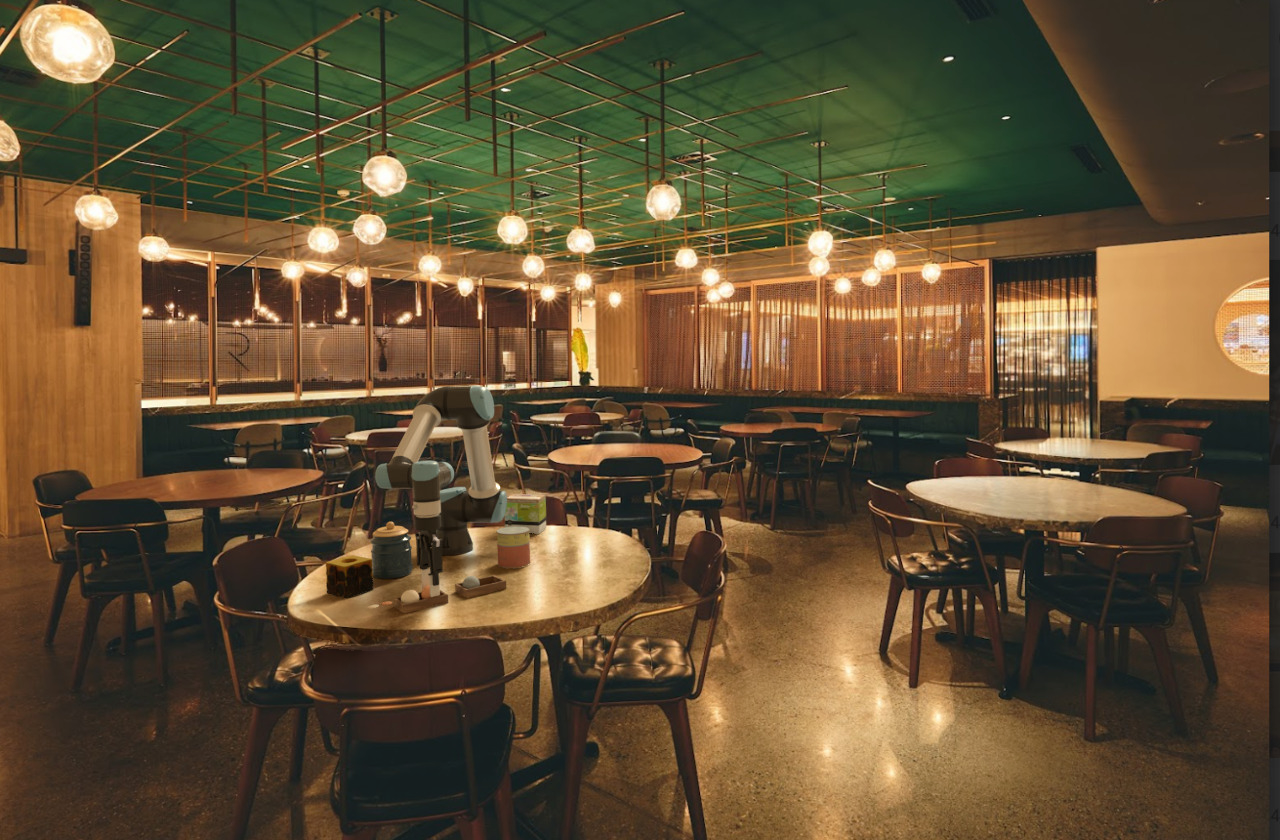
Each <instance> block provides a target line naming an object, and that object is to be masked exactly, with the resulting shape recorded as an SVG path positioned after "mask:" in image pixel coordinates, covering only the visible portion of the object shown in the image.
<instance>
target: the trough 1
mask: <svg viewBox="0 0 1280 840" xmlns="http://www.w3.org/2000/svg"><path fill="white" fill-rule="evenodd" d="M417 593H418V594H419V601H416V602H412V603H407V604H404V603H403V602H401V596H398V597H393V600H392V603H393V608H395V609H397V610H398V611H399V612H401V613H402V614H408V613H412V612H416V611H421V610H425V609H428V608H433V607H437V606H440V605H441V606H442V605H445V604H449V594H448V593H447V592H444V591H442V590H441V589H440V595H439V596H437V597H433V598H428V599H424V600H423V599H422V596H421V593H422V591H420V592H417Z"/></svg>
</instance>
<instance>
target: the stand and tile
mask: <svg viewBox="0 0 1280 840" xmlns="http://www.w3.org/2000/svg"><path fill="white" fill-rule="evenodd" d="M381 605H383V606H388V605H389V606H390V605H393V601H383V602H382V603H381ZM379 606H380V605H379V604H370V605H368V606H367V609H375V608H378V607H379Z"/></svg>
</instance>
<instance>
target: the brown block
mask: <svg viewBox="0 0 1280 840" xmlns="http://www.w3.org/2000/svg"><path fill="white" fill-rule="evenodd" d="M325 567H326V568H325V571H326V572H325V575H326V583H325V584H326V585H325V586H326V594H328V595H331V596H334V597H341V598H343V599H345V600H346V599H351V598H353V597H357V596H359V595H363V594H365V593H367V592H371V591H374V583H375V582H374V576H373V570H372V558H369V557H364V556H358V555H354V554H353V555H348V556H345V557H340V558H338V559H334V560H330V561H326V562H325Z"/></svg>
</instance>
